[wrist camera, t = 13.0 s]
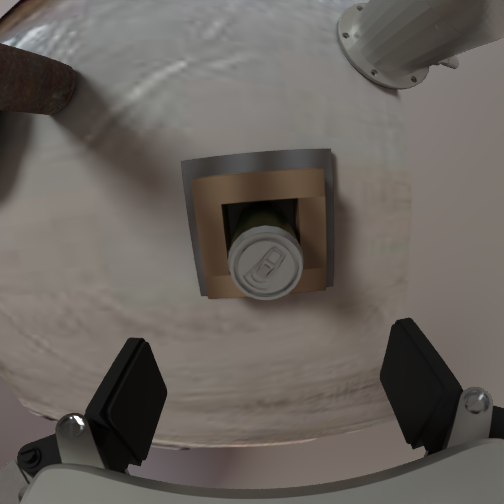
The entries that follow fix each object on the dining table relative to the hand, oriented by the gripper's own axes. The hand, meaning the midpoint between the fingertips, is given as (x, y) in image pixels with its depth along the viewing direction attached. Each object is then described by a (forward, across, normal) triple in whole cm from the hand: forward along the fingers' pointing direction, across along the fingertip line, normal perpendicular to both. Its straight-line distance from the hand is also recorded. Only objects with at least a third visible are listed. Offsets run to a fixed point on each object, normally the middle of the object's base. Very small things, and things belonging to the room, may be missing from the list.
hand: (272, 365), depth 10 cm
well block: (+22, 0, 0) cm, 23 cm away
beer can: (+22, 0, 0) cm, 22 cm away
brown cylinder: (+23, +25, -22) cm, 40 cm away
